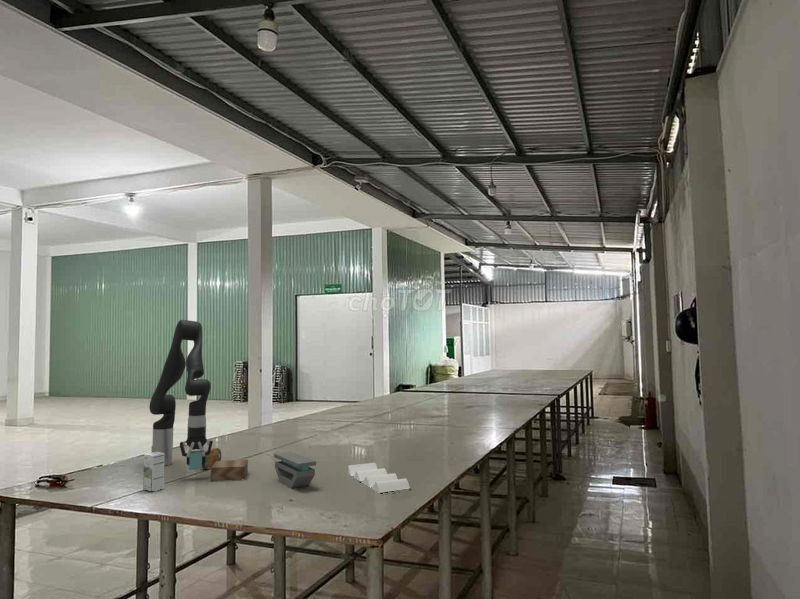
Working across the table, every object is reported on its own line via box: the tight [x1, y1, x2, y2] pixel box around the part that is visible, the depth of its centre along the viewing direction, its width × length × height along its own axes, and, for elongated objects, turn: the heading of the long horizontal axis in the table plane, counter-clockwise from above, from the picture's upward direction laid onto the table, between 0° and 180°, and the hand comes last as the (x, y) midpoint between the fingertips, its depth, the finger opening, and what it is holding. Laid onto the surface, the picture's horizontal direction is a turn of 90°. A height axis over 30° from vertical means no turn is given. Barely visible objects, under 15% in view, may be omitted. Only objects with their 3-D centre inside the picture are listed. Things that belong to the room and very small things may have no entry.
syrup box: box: [143, 452, 165, 492], centre depth 224 cm, size 6×6×14 cm
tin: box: [202, 447, 222, 470], centre depth 264 cm, size 15×3×8 cm, turn 168°
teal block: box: [188, 449, 203, 471], centre depth 242 cm, size 5×5×7 cm
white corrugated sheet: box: [347, 462, 411, 495], centre depth 233 cm, size 13×35×5 cm, turn 26°
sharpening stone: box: [273, 451, 317, 489], centre depth 232 cm, size 25×8×11 cm, turn 34°
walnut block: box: [210, 459, 249, 482], centre depth 245 cm, size 14×14×6 cm
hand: (195, 465), depth 241 cm, fingers closed on teal block, 5 cm apart
